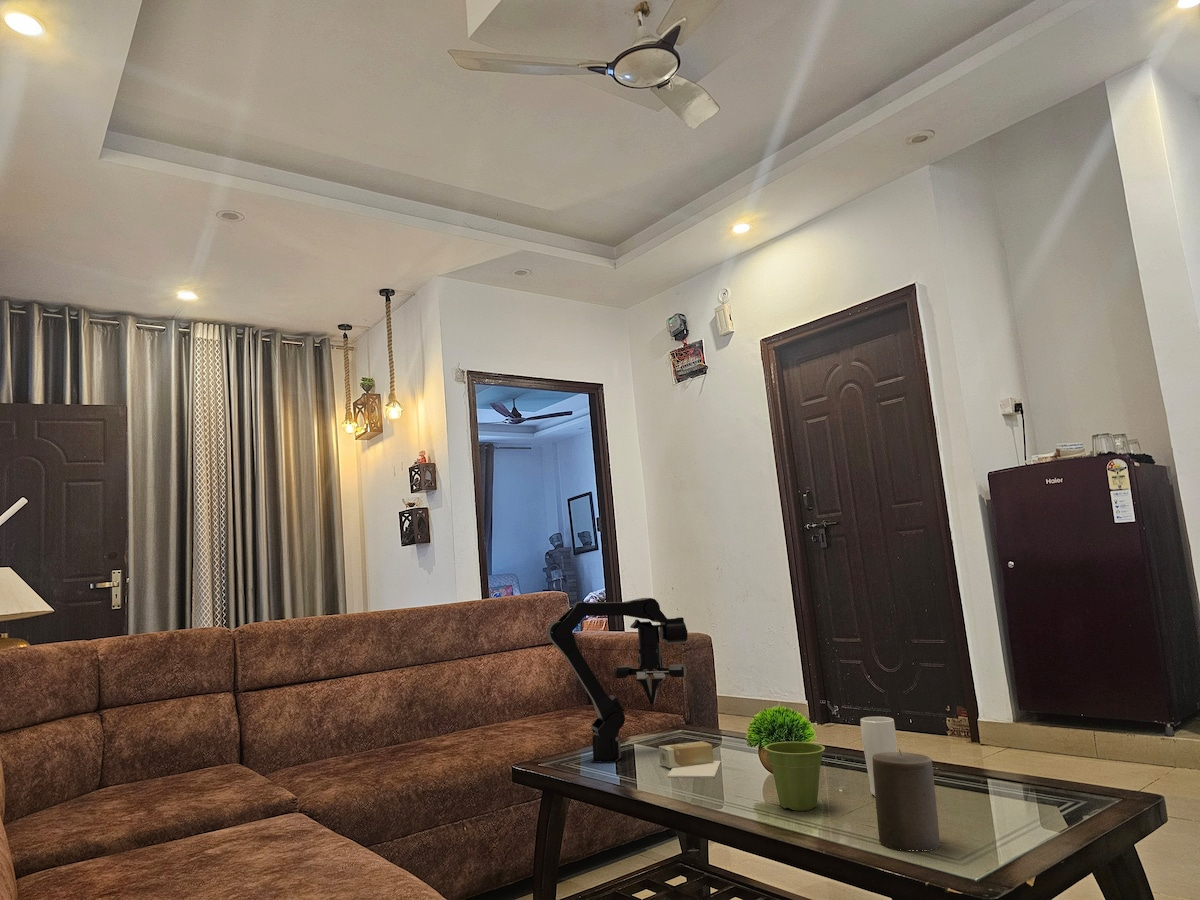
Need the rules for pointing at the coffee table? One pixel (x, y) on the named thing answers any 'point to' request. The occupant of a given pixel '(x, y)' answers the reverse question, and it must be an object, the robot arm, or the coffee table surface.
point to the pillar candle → (905, 801)
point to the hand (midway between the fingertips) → (652, 704)
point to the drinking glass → (877, 740)
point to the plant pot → (796, 773)
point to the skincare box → (685, 754)
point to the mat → (696, 770)
